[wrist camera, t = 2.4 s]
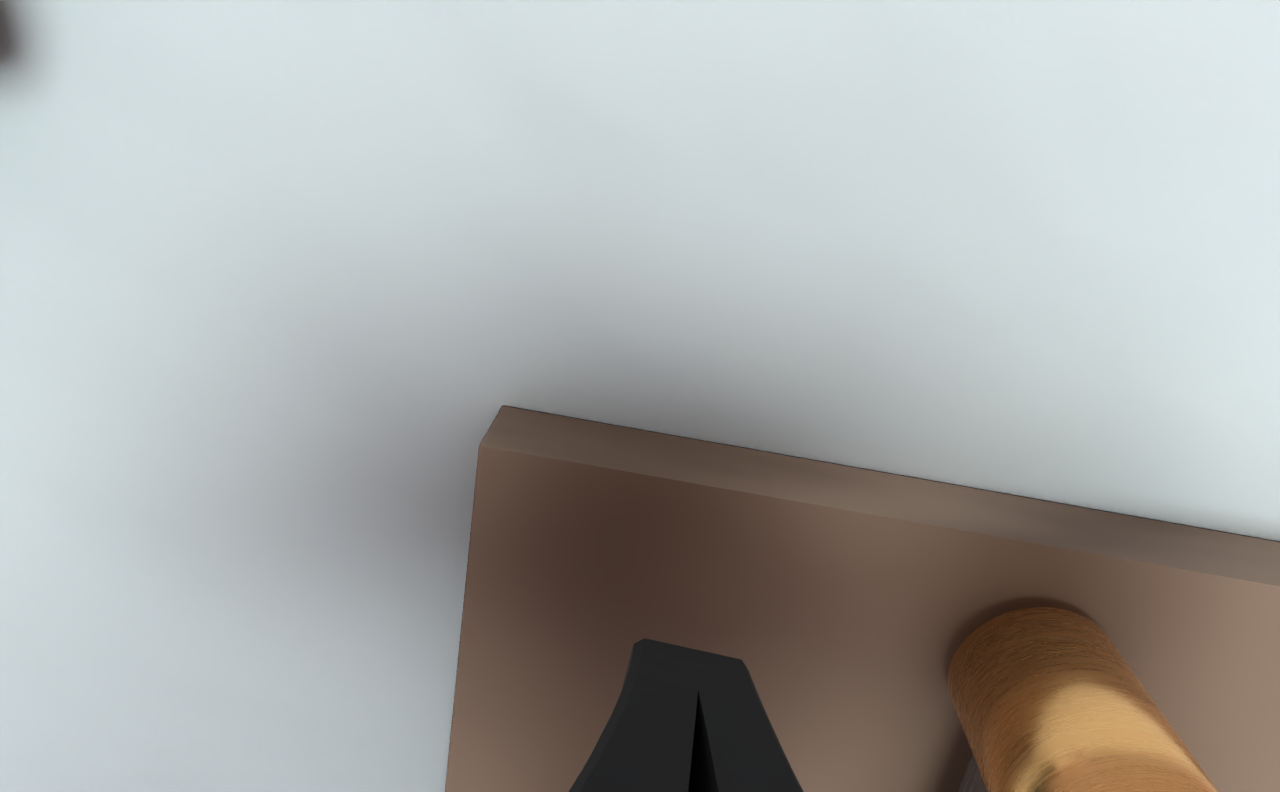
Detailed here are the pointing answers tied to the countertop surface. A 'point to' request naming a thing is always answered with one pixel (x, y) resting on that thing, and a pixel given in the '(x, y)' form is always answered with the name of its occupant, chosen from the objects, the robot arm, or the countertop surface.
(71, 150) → the countertop surface
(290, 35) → the countertop surface
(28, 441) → the countertop surface
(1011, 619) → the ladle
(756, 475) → the base
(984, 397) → the countertop surface
